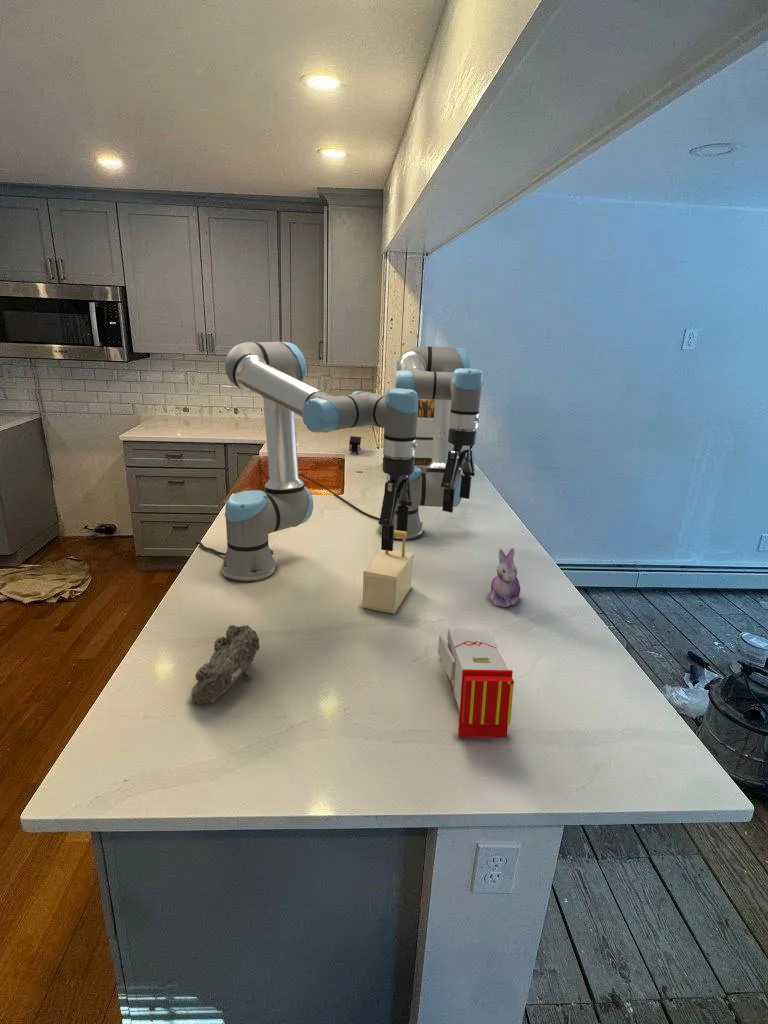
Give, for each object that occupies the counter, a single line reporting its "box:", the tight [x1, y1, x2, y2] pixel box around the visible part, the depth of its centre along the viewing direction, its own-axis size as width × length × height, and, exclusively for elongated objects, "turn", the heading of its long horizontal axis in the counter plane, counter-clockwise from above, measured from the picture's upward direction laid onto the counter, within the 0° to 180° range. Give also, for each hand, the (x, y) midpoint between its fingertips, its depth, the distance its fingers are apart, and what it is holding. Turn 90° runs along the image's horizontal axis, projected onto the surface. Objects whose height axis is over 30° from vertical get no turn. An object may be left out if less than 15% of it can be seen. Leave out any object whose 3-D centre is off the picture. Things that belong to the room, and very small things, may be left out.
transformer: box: [383, 399, 435, 467], centre depth 268 cm, size 34×33×41 cm
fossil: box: [191, 624, 260, 705], centre depth 119 cm, size 22×10×15 cm
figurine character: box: [348, 435, 362, 455], centre depth 308 cm, size 7×8×15 cm
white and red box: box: [437, 628, 515, 738], centre depth 117 cm, size 12×13×30 cm
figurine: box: [489, 547, 521, 608], centre depth 154 cm, size 9×10×15 cm
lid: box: [363, 530, 415, 581], centre depth 152 cm, size 17×9×8 cm, turn 162°
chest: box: [361, 557, 414, 615], centre depth 154 cm, size 16×9×9 cm, turn 162°
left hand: (394, 539), depth 140 cm, fingers open, 13 cm apart
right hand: (456, 504), depth 157 cm, fingers open, 13 cm apart
